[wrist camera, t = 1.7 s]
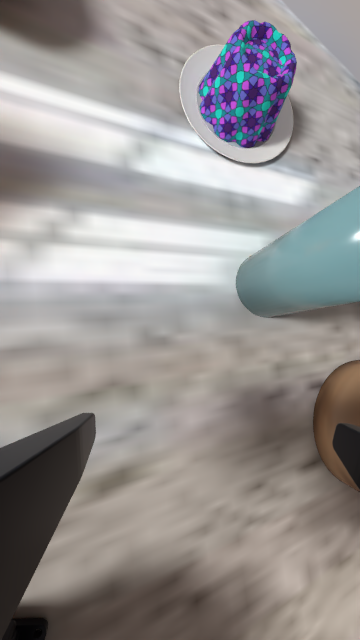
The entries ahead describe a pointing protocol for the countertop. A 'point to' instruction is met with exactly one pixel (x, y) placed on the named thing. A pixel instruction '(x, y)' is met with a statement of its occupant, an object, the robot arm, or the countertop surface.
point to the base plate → (337, 414)
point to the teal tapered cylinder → (307, 264)
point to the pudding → (242, 92)
